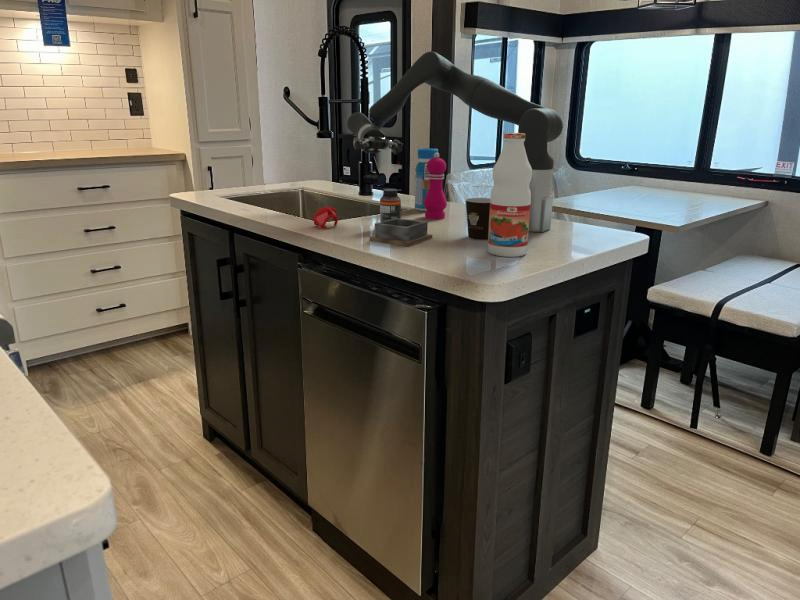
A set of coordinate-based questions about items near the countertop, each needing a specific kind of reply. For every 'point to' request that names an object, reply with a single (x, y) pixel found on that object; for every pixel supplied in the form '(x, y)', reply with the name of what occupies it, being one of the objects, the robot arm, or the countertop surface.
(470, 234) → the coffee mug
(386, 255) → the countertop surface
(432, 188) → the pepper mill
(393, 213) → the supplement bottle
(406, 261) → the countertop surface
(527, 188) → the fruit juice
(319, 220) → the red toy crab
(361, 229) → the countertop surface
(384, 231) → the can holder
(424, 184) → the beverage bottle
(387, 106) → the robot arm
